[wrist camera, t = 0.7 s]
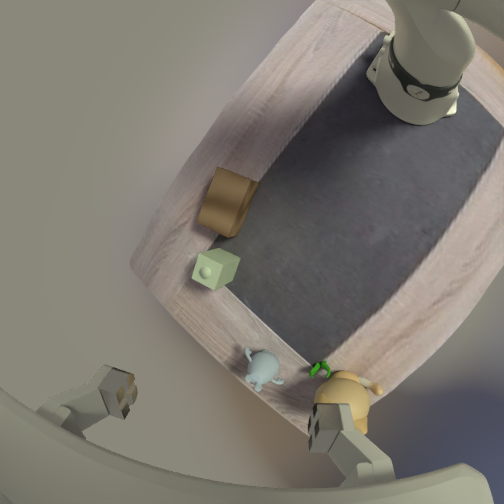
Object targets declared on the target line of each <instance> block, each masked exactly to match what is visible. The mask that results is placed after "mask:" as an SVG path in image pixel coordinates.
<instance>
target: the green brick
mask: <svg viewBox="0 0 504 504" xmlns="http://www.w3.org/2000/svg"><path fill="white" fill-rule="evenodd" d="M240 259H241V258H239V257H237V256H235V255H233V254H231V253H229V252H227V251H225V250H222V249H220V248H217V249H213V250H209V251H206V252H202V253H199V256H198V259H197V262H196V265H195V268H194V271H193V275H192V279H194V280H196V281H197V282H199V283H201V284H203V285H205V286H207V287H208V288H210V289H212V290H214V291H215V290H216V289H218V288H220V287H222V286H224V285H225V284H227V283H229V282H231V281H232V280H233V277H234V275H235V272H236V269H237V267H238V264H239V261H240Z"/></svg>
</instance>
